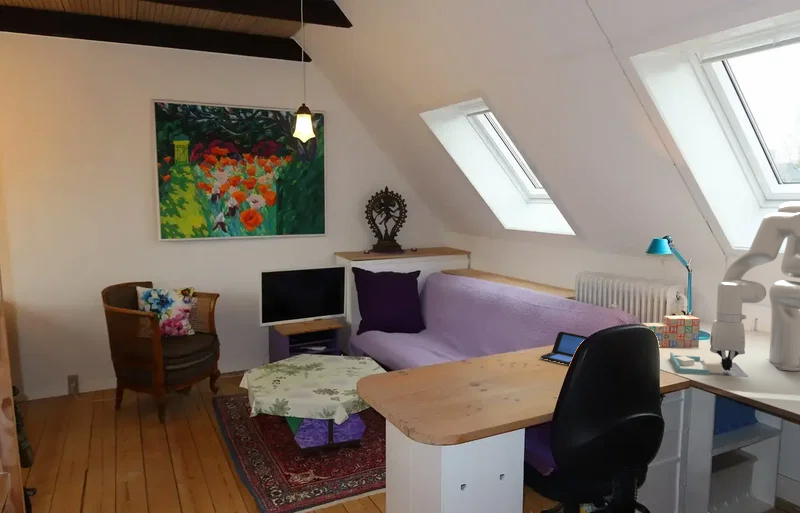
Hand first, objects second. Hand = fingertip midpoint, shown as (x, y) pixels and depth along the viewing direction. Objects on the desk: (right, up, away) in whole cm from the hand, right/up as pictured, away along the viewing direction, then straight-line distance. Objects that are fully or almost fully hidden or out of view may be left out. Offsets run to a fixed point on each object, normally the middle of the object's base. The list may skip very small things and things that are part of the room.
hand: (726, 369), depth 204 cm
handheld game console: (-49, -1, +23) cm, 55 cm away
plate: (+1, -2, +4) cm, 5 cm away
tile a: (-9, -1, +11) cm, 15 cm away
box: (-10, -2, +7) cm, 12 cm away
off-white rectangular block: (-4, -1, +1) cm, 4 cm away
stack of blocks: (-1, +2, +41) cm, 41 cm away
